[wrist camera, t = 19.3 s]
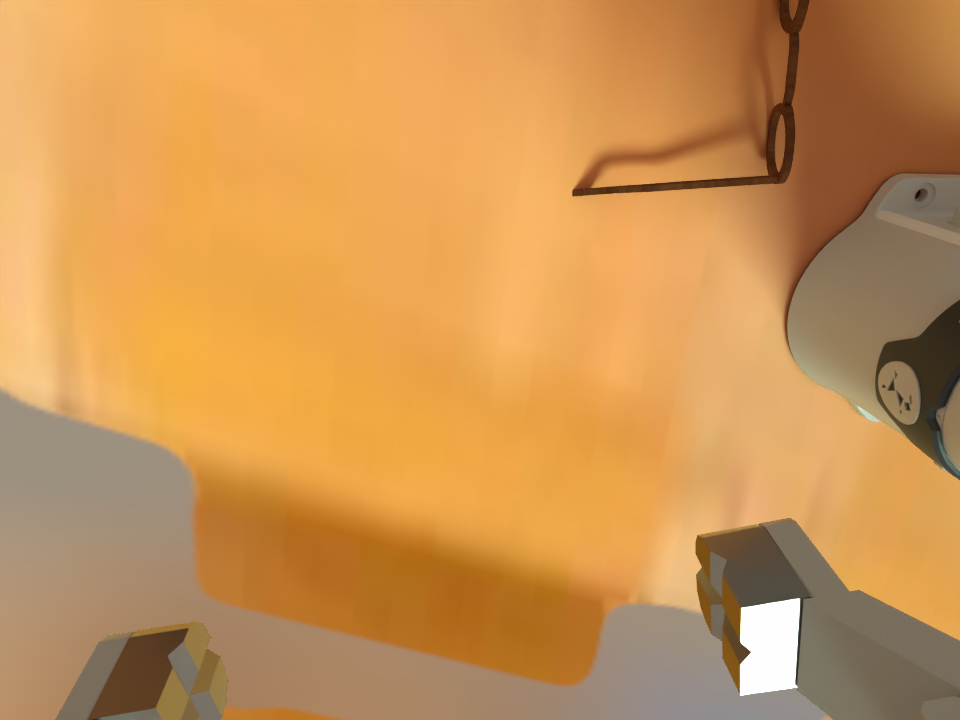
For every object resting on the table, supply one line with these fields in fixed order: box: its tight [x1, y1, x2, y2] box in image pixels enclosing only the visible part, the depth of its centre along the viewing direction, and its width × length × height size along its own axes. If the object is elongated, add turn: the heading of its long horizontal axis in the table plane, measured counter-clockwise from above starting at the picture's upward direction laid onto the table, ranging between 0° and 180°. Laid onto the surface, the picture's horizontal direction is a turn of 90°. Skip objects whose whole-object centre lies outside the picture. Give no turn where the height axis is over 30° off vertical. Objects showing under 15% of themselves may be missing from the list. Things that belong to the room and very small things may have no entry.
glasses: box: [572, 0, 809, 196], centre depth 39 cm, size 13×13×5 cm
